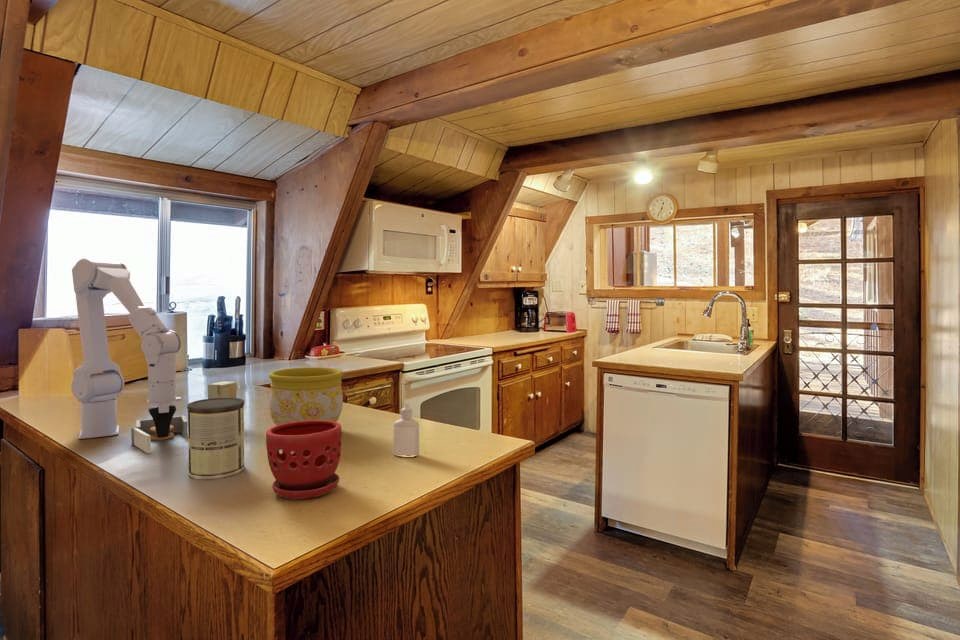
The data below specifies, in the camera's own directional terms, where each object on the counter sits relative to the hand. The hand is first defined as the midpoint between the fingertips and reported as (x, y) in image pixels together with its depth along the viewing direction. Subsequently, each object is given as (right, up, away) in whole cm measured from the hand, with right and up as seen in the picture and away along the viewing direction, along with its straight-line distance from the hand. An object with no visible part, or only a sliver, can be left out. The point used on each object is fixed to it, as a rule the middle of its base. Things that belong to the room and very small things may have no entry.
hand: (162, 436), depth 125 cm
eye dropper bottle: (+61, -2, -9) cm, 61 cm away
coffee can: (+24, -2, -21) cm, 32 cm away
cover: (-1, -1, -7) cm, 7 cm away
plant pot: (+45, -3, -31) cm, 55 cm away
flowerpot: (+33, -1, +7) cm, 34 cm away
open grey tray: (-2, -1, +4) cm, 4 cm away
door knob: (-2, -1, +3) cm, 4 cm away
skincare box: (+8, -1, +13) cm, 15 cm away
